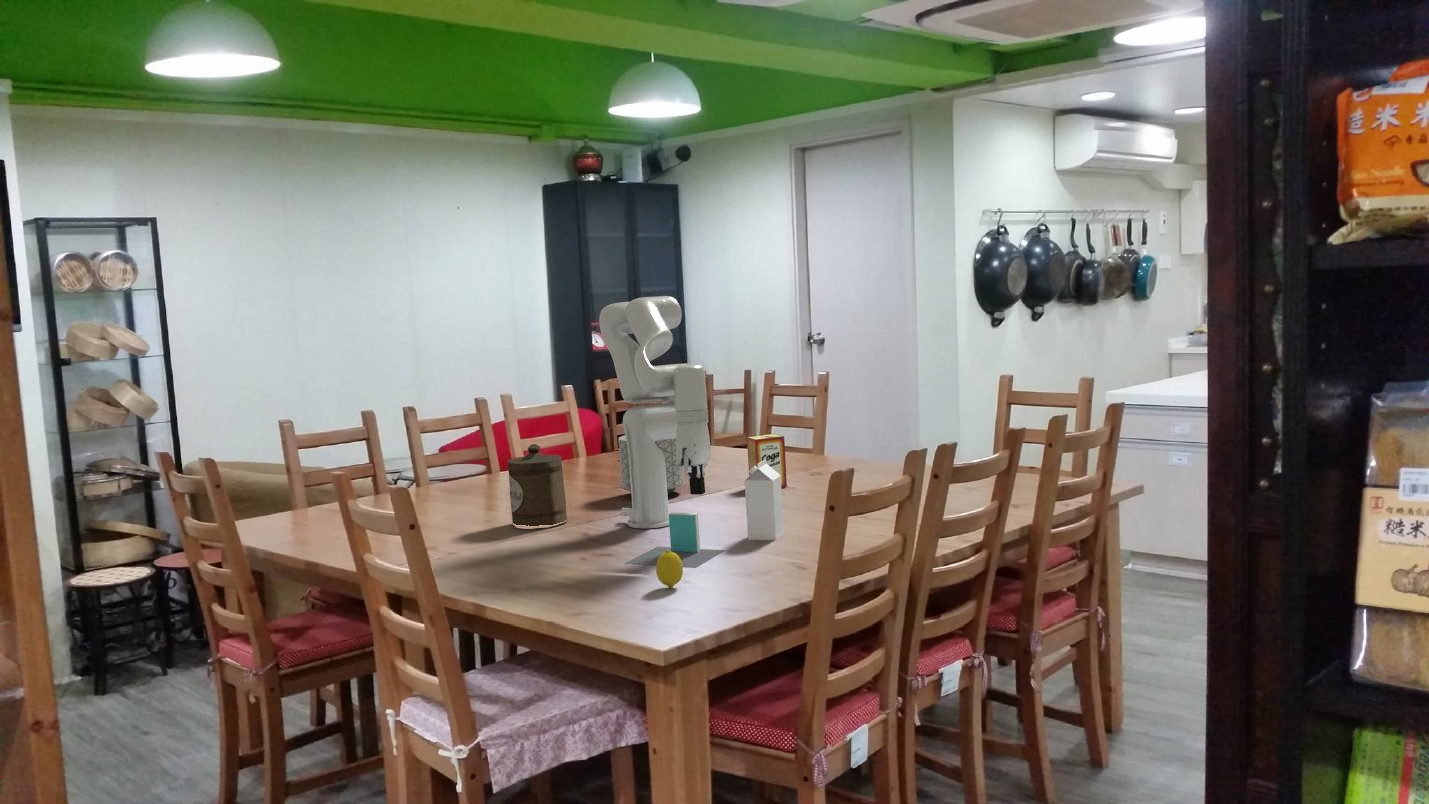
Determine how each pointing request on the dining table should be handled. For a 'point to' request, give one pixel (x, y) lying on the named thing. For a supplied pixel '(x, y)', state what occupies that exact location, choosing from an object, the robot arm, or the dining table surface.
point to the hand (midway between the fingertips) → (697, 493)
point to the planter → (672, 469)
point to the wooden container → (537, 489)
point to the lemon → (669, 568)
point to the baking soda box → (768, 453)
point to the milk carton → (764, 503)
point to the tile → (684, 532)
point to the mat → (686, 557)
